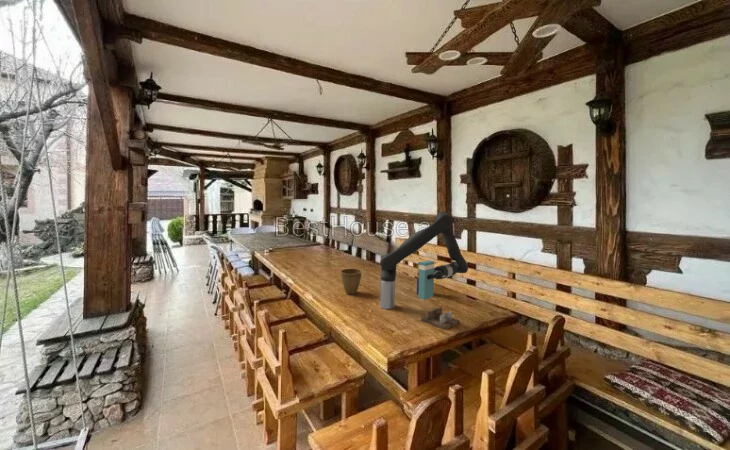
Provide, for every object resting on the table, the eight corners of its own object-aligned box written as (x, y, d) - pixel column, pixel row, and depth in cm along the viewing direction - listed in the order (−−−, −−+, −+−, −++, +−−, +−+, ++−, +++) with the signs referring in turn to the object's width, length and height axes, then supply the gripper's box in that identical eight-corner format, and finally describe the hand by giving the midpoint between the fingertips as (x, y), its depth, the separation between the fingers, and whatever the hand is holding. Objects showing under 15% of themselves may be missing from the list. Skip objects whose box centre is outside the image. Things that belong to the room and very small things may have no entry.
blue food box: (432, 296, 220) (433, 265, 218) (416, 294, 223) (417, 264, 221) (433, 293, 226) (434, 263, 224) (417, 291, 229) (418, 262, 227)
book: (427, 294, 178) (428, 260, 176) (433, 296, 175) (434, 261, 173) (418, 298, 173) (419, 262, 171) (424, 299, 170) (425, 263, 168)
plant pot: (338, 291, 228) (338, 269, 227) (357, 289, 233) (357, 267, 232) (344, 297, 214) (344, 274, 213) (364, 295, 220) (364, 272, 218)
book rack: (435, 314, 186) (436, 304, 185) (459, 323, 174) (460, 312, 173) (420, 320, 177) (421, 310, 176) (444, 330, 165) (445, 318, 164)
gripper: (433, 263, 188) (414, 267, 176) (454, 267, 177) (435, 272, 166) (433, 275, 188) (414, 280, 177) (453, 280, 178) (434, 286, 166)
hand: (424, 276), depth 171 cm, fingers closed on book, 4 cm apart
